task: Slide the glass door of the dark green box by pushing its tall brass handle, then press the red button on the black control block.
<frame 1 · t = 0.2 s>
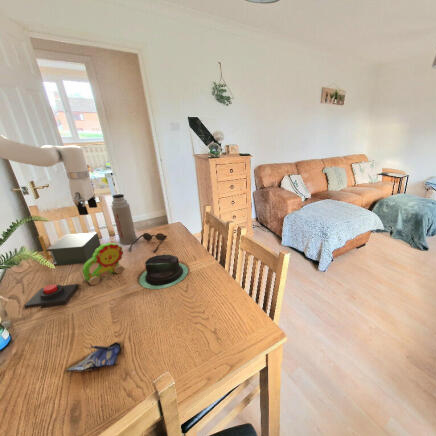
hand: (88, 211, 112), 25 cm above the table, tool pointing down, fingers open, 9 cm apart
dark green box: (81, 255, 122), on the table
toy lion: (108, 276, 108), on the table
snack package: (98, 363, 71), on the table
control block: (54, 298, 93), on the table
thermos bottle: (128, 241, 138), on the table
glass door: (51, 246, 113), point 8 cm above the table, slide at 0.0 cm
eyeglasses: (148, 246, 134), on the table
black fedora hat: (164, 275, 111), on the table
red button: (50, 289, 92), point 4 cm above the table, slide at 0.1 cm
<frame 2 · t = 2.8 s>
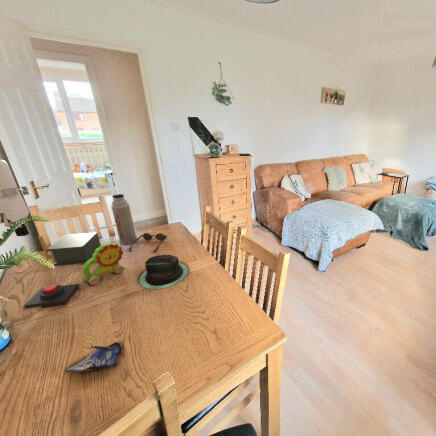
hand: (23, 235, 98), 20 cm above the table, tool pointing down, fingers closed
nothing on the table moved.
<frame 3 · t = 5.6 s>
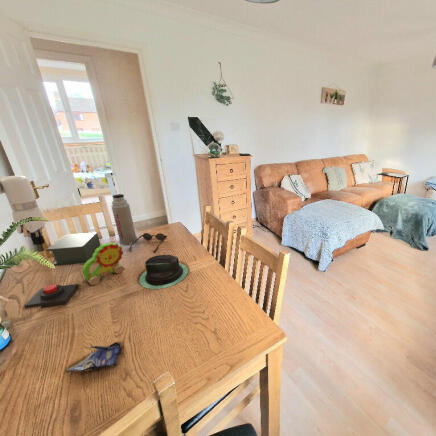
hand: (39, 243, 107), 12 cm above the table, tool pointing down, fingers closed
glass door: (52, 245, 114), point 8 cm above the table, slide at 0.8 cm, touching gripper
everything else where it was.
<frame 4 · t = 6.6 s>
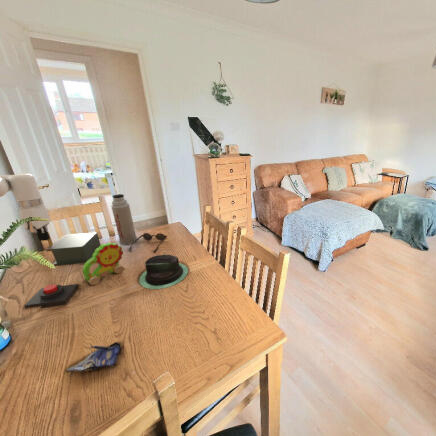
hand: (45, 239, 111), 12 cm above the table, tool pointing down, fingers closed
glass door: (57, 241, 117), point 8 cm above the table, slide at 4.7 cm, touching gripper
everything else where it was.
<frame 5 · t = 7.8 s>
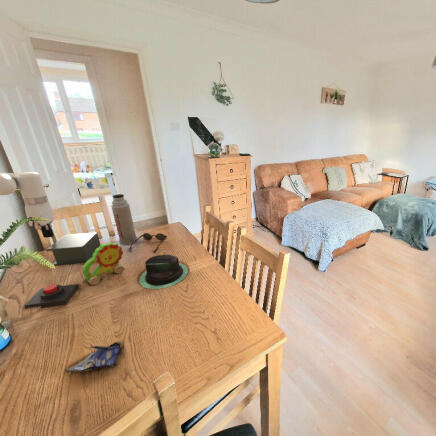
hand: (49, 236, 114), 12 cm above the table, tool pointing down, fingers closed
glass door: (60, 239, 120), point 8 cm above the table, slide at 7.9 cm, touching gripper
everything else where it was.
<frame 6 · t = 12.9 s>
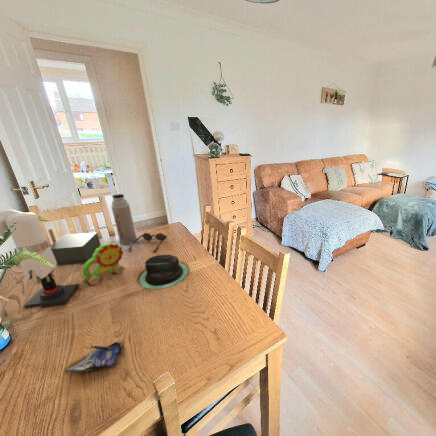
hand: (50, 288, 92), 5 cm above the table, tool pointing down, fingers closed
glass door: (60, 239, 120), point 8 cm above the table, slide at 7.5 cm
red button: (51, 290, 92), point 4 cm above the table, slide at -0.5 cm, touching gripper
everything else where it was.
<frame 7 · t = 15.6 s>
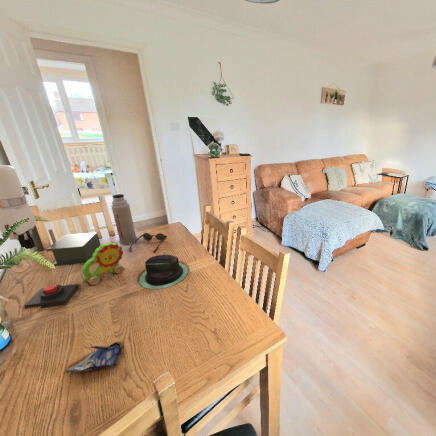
hand: (29, 247, 90), 20 cm above the table, tool pointing down, fingers closed
red button: (50, 289, 92), point 4 cm above the table, slide at 0.1 cm
everything else where it was.
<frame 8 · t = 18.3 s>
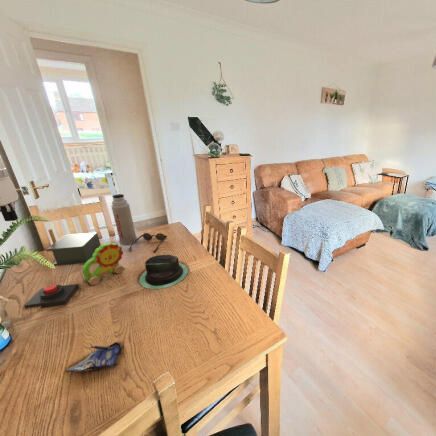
hand: (11, 220, 95), 27 cm above the table, tool pointing down, fingers closed
nothing on the table moved.
at the end: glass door slide at 7.5 cm; red button pushed in 1.1 cm at the most during the clip, back to where it started at the end; red button slide at 0.1 cm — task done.
